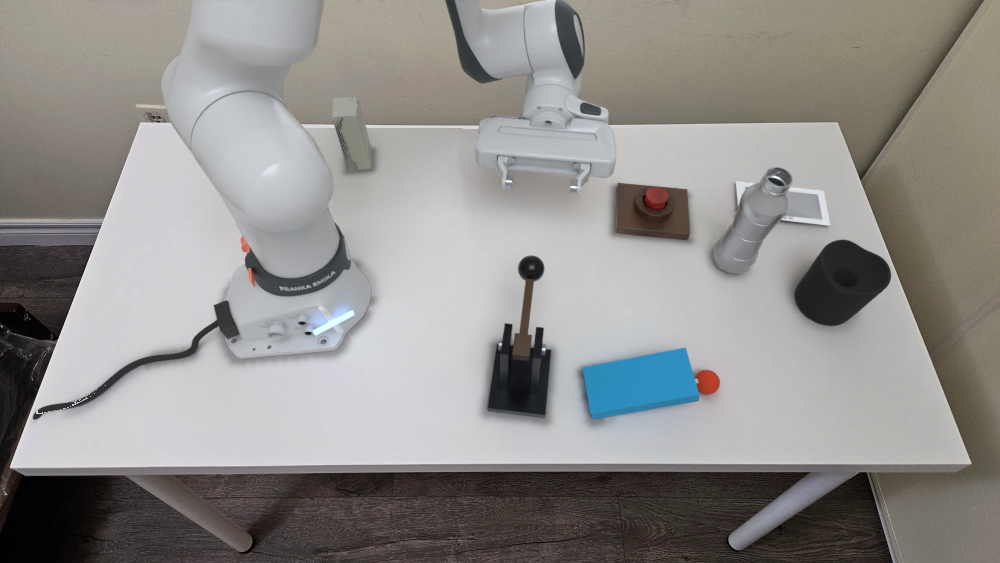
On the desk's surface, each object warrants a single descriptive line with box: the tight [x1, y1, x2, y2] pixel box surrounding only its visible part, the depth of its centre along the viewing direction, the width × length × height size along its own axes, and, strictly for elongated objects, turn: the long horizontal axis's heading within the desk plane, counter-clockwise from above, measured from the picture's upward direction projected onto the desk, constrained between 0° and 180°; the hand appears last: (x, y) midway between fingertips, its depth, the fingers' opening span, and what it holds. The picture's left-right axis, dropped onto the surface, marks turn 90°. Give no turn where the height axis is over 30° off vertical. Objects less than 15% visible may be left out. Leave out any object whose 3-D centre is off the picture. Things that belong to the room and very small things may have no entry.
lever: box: [512, 254, 545, 361], centre depth 75 cm, size 14×4×4 cm, turn 173°
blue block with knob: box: [582, 347, 721, 420], centre depth 80 cm, size 7×7×18 cm
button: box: [644, 186, 668, 210], centre depth 96 cm, size 4×4×2 cm
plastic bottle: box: [712, 166, 794, 275], centre depth 85 cm, size 6×7×20 cm
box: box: [331, 96, 373, 172], centre depth 101 cm, size 5×4×13 cm
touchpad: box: [735, 180, 831, 227], centre depth 99 cm, size 8×15×2 cm, turn 81°
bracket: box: [486, 322, 552, 419], centre depth 77 cm, size 10×8×13 cm
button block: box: [614, 182, 691, 241], centre depth 98 cm, size 12×10×4 cm
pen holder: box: [794, 239, 892, 326], centre depth 85 cm, size 9×9×10 cm
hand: (540, 189), depth 80 cm, fingers open, 8 cm apart
